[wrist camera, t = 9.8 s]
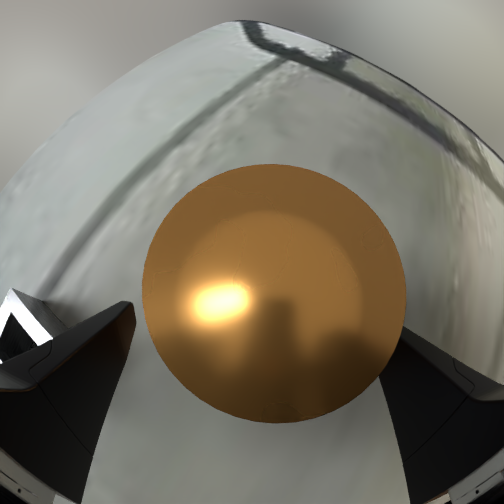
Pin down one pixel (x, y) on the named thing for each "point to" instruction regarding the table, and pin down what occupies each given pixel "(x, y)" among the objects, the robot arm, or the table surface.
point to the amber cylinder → (274, 293)
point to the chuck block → (25, 324)
